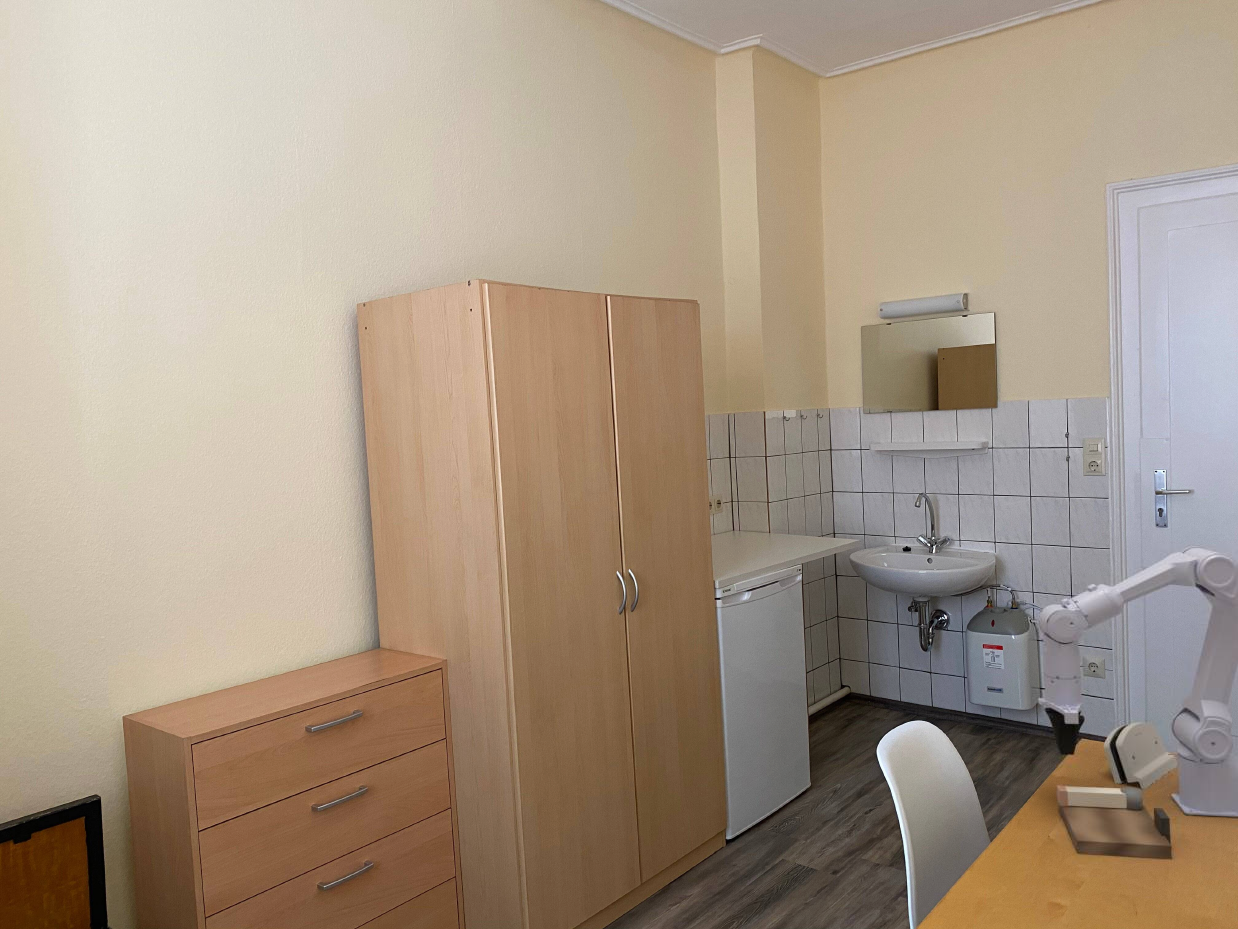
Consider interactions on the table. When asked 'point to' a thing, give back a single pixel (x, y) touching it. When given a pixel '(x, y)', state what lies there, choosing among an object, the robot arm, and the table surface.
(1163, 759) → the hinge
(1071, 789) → the folding leg
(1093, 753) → the table surface
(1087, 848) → the stool seat
